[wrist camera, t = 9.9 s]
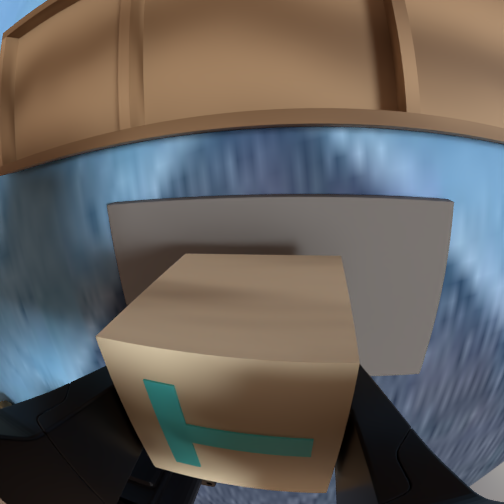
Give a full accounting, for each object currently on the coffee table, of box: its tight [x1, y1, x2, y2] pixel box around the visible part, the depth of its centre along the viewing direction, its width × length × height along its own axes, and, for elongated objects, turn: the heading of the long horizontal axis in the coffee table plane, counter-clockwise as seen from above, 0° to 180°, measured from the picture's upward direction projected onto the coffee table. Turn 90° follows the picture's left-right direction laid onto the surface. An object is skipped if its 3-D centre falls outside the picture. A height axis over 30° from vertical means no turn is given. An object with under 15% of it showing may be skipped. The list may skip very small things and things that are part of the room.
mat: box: [107, 194, 454, 376], centre depth 12 cm, size 8×14×1 cm, turn 93°
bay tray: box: [0, 0, 504, 176], centre depth 8 cm, size 9×29×2 cm, turn 93°
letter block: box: [96, 254, 360, 493], centre depth 8 cm, size 5×5×5 cm
